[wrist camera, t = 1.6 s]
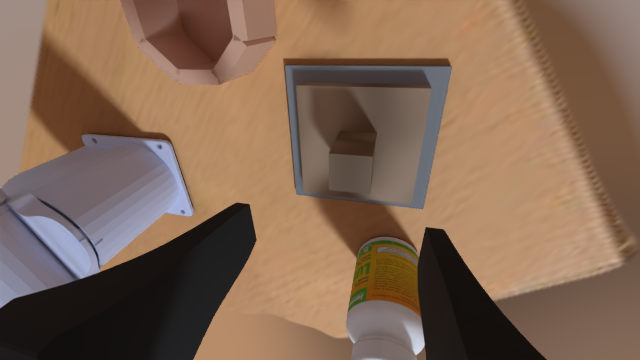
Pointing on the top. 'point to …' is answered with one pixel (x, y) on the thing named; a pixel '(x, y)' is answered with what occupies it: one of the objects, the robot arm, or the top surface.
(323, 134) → the lid
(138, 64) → the top surface
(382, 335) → the supplement bottle
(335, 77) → the mat
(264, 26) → the bowl
